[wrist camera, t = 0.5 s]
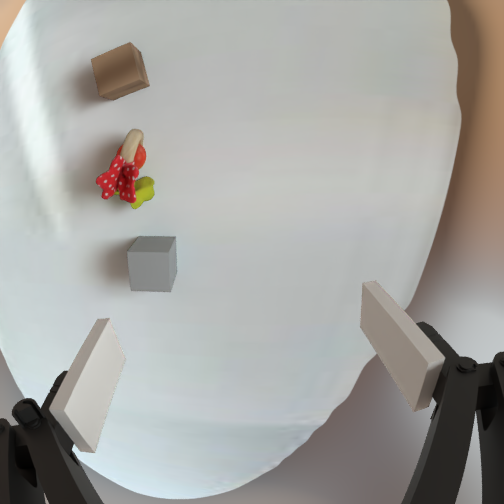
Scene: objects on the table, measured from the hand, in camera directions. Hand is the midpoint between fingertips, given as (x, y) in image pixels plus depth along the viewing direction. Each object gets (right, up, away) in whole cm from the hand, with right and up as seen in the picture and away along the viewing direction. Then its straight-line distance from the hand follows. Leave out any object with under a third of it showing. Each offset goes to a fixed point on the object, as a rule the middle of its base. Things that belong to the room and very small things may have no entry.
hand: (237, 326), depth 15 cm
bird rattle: (-14, +15, +22) cm, 30 cm away
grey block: (-12, +3, +26) cm, 29 cm away
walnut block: (-15, +26, +17) cm, 34 cm away
